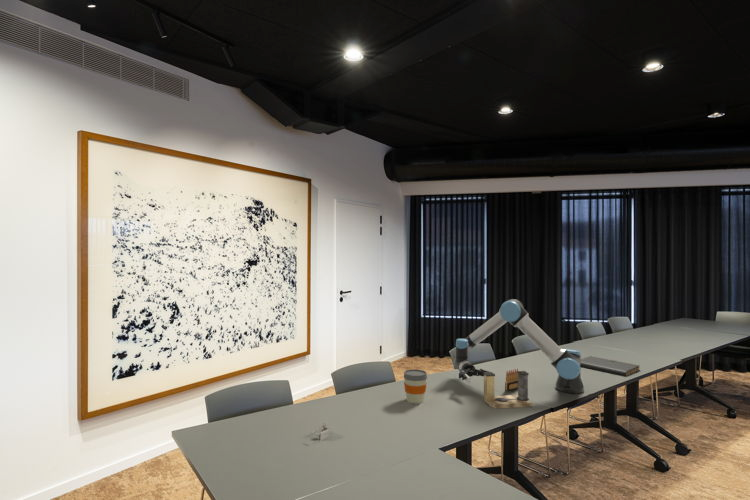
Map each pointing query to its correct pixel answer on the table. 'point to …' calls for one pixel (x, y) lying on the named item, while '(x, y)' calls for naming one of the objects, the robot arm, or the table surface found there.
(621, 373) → the grey hardcover book
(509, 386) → the ammunition clip
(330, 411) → the table surface
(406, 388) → the reusable coffee cup
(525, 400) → the tan and grey stand
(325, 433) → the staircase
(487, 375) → the brass leg
